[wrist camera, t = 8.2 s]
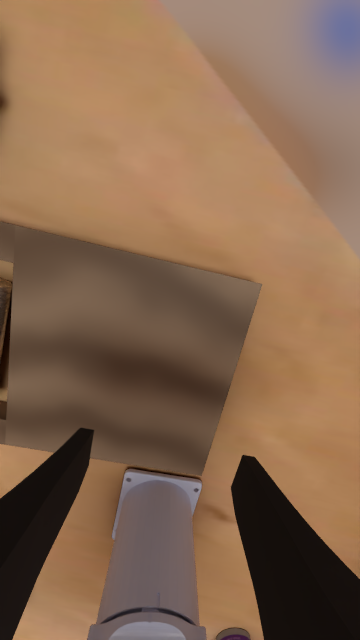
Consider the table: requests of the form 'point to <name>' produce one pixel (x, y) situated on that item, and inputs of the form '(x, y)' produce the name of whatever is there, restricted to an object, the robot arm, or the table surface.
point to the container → (233, 634)
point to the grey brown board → (118, 350)
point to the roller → (4, 308)
